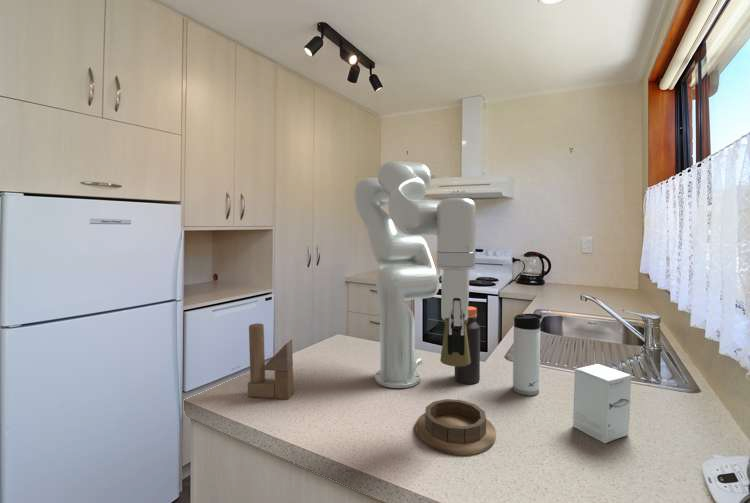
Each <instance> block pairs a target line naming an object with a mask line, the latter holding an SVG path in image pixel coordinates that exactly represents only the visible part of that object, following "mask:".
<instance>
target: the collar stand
mask: <svg viewBox="0 0 750 503" xmlns="http://www.w3.org/2000/svg"><path fill="white" fill-rule="evenodd" d="M415 433H416V435H417V438H418V439H419V440H420V442H422V443H423V444H424V445H425V446H427V447H429V448H430V449H433V450H435V451H438V452H439V453H444V454H448V455H454V456H473V455H477V454H481V453H485V452H486V451H489V450H491V448H492V447H493V446H494V444H496V443H495V442H496V441H497V440H496V439H497V431H496V428H495V426H494V425H493V423H491V421H489V420H488V419H487V416H486V412H485V410H483V409H482V408H481V407H479V406H478V405H477V404H475V403H472V402H469V401H465V400H461V399H450V398H449V399H448V398H447V399H439V400H434V401H432V402H431V403H430V404H428V405H426V407H425V412H424V413H422V414H421V415H420V416H419V417H418V419H417V420H416V422H415Z"/></svg>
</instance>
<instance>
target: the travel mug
mask: <svg viewBox="0 0 750 503" xmlns="http://www.w3.org/2000/svg"><path fill="white" fill-rule="evenodd" d="M542 318H543V315H542V314H537V313H520V314H516V315H515V316H514V317H513V322H514V323H513V343H512V344H513V350H512V352H513V354H512V356H513V357H512V358H513V359H512V391H514V392H516V393H517V394H519V395H523V396H531V397H532V396H535V395H538V394H539V393H540V360H541V354H540V353H541V320H542Z"/></svg>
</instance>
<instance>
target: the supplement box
mask: <svg viewBox="0 0 750 503" xmlns="http://www.w3.org/2000/svg"><path fill="white" fill-rule="evenodd" d="M631 380H632V374H629V373H626V372H624V371H620V370H618V369H615V368H611V367H608V366H606V365H603V364H599V363H595V364H591V365H587V366H582V367H578V368H575V369H574V383H573V386H574V387H573V415H572V426H573V427H574V428H575V429H577V430H579V431H581V432H582V433H584V434H586V435H588V436H589V437H592V438H594V439H595V440H597V441H600V442H601V443H603V444H608V443H609V442H612V441H614V440H617V439H620V438H623V437H627V436H629V435H630V433H629V431H630V414H631V413H630V411H631V409H630V407H631V386H632V384H631V383H632V381H631Z"/></svg>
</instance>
